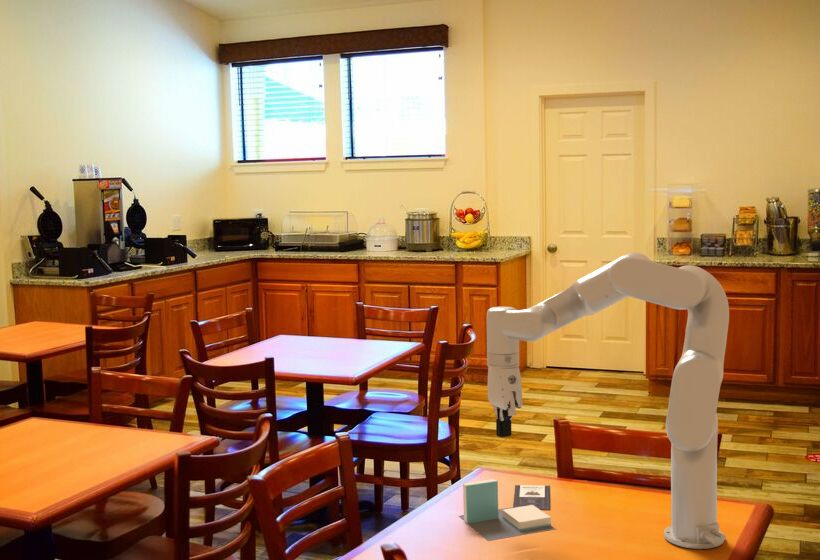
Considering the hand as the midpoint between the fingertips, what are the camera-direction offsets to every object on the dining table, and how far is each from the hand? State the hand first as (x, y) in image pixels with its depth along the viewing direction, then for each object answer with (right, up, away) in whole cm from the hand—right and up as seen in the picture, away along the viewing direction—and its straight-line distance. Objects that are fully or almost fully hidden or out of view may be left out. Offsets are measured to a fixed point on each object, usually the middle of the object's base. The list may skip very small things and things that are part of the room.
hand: (503, 435), depth 209 cm
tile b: (-5, -20, -1) cm, 20 cm away
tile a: (+3, -18, +1) cm, 19 cm away
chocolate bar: (+9, -19, +14) cm, 25 cm away
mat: (0, -20, -3) cm, 20 cm away
